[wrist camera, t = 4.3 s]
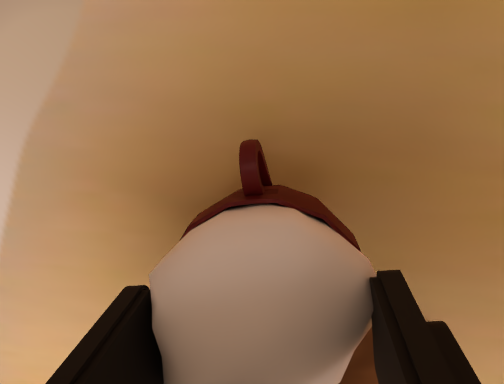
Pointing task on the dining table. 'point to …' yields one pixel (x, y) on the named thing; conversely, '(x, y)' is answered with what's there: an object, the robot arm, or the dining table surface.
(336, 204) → the dining table surface
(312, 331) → the cocoa
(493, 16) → the dining table surface
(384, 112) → the dining table surface
